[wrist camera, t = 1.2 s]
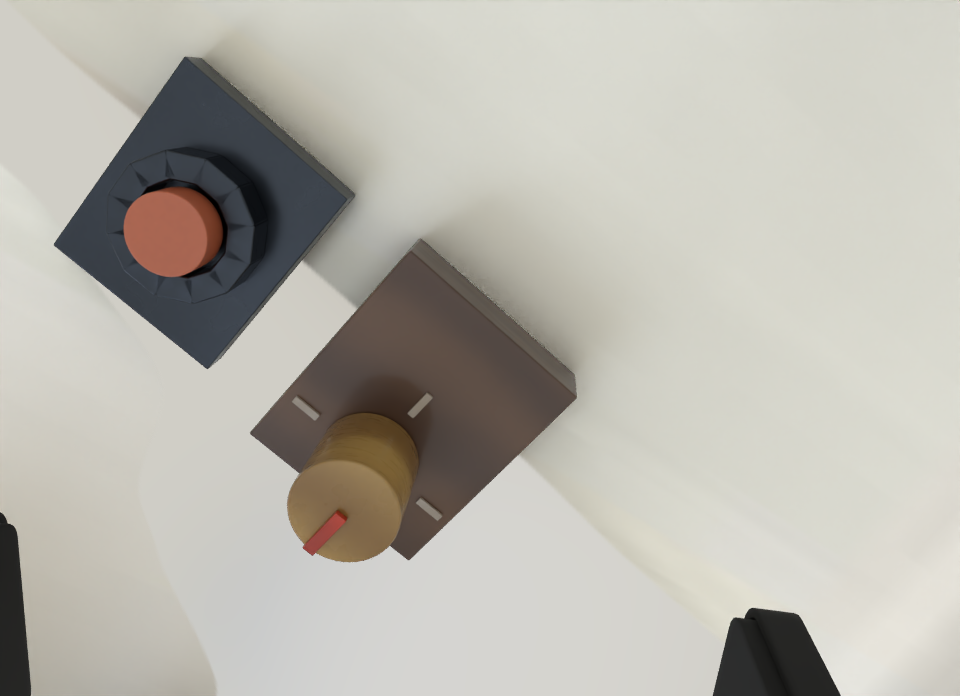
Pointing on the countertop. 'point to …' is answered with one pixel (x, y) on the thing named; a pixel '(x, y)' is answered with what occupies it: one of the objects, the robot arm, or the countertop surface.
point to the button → (173, 231)
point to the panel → (427, 387)
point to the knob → (354, 488)
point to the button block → (234, 193)
